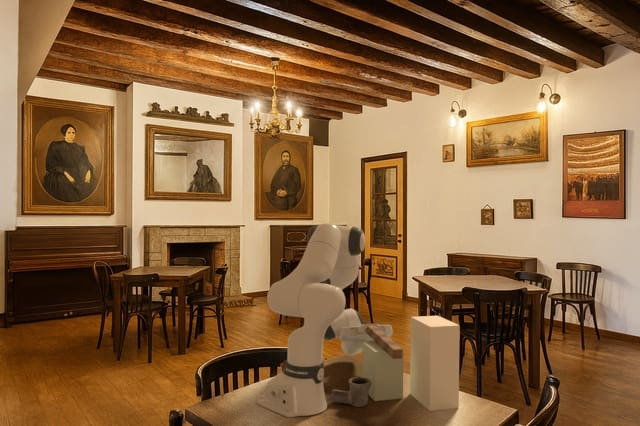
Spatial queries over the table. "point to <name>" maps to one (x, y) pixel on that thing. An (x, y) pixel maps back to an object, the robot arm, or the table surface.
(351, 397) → the pipe
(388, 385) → the low stool
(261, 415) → the table surface
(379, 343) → the walnut bar
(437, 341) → the tall stand
